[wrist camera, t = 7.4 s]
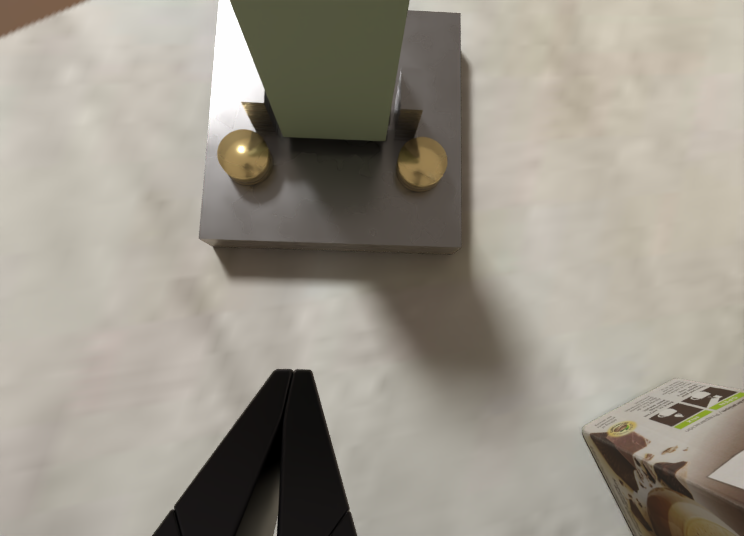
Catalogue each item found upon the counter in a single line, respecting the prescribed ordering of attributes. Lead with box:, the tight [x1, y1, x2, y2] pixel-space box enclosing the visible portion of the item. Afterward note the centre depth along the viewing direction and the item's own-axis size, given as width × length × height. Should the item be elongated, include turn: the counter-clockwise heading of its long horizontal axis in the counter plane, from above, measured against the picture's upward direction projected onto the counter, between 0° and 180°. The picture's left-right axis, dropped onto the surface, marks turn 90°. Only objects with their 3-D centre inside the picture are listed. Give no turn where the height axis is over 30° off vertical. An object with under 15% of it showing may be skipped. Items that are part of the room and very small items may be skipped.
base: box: [199, 0, 461, 254], centre depth 21 cm, size 13×13×5 cm
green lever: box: [229, 0, 409, 141], centre depth 15 cm, size 3×5×13 cm, turn 88°
